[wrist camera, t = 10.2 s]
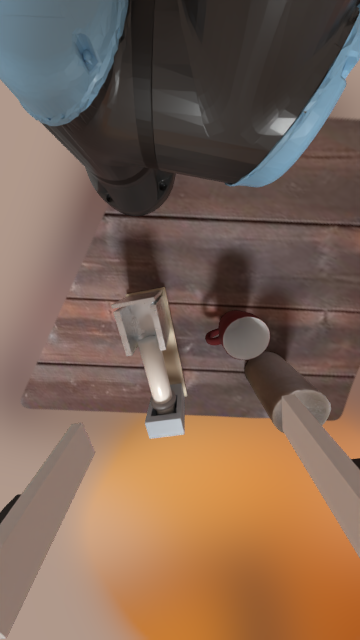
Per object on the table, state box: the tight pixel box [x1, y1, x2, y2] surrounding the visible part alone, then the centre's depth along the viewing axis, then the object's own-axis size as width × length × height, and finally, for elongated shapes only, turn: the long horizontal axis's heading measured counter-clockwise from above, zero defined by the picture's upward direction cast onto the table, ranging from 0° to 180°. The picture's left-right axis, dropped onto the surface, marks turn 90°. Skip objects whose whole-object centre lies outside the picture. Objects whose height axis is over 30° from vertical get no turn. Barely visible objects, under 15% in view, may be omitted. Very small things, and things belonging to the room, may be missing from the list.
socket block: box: [145, 383, 184, 439], centre depth 39 cm, size 4×7×10 cm, turn 101°
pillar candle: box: [245, 352, 331, 433], centre depth 36 cm, size 10×10×15 cm
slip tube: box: [138, 336, 176, 415], centre depth 36 cm, size 18×5×5 cm, turn 10°
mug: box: [205, 310, 270, 360], centre depth 35 cm, size 11×8×10 cm
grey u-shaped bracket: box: [111, 289, 170, 356], centre depth 34 cm, size 9×7×10 cm
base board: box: [126, 287, 187, 396], centre depth 41 cm, size 28×8×1 cm, turn 10°
